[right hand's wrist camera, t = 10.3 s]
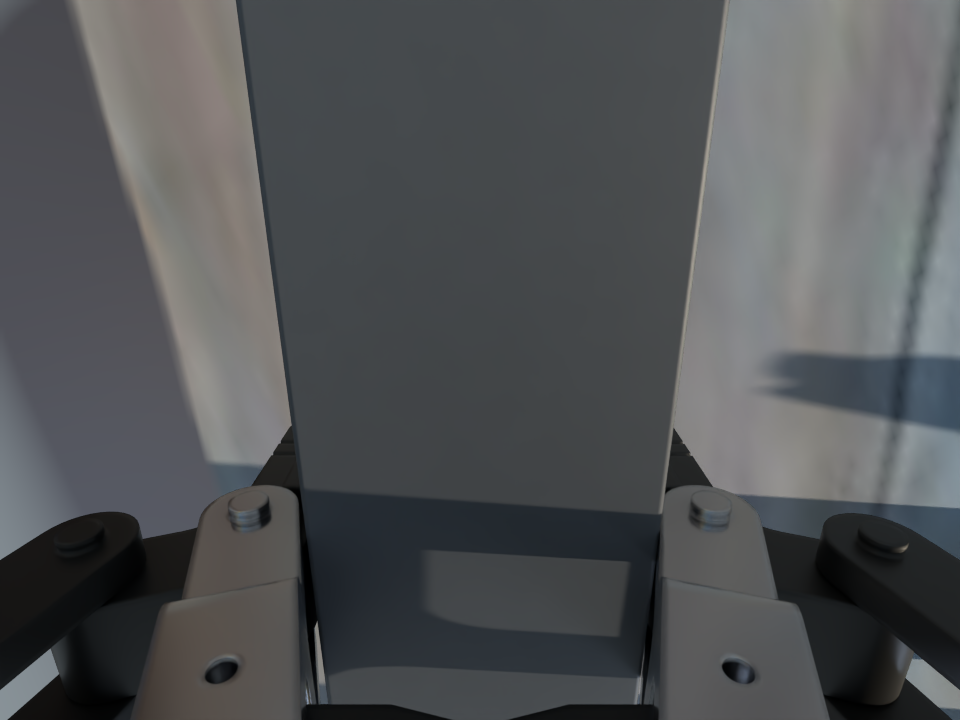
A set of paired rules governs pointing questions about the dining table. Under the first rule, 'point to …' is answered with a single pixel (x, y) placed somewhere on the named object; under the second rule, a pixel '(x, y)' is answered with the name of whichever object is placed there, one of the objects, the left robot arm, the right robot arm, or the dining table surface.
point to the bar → (482, 327)
